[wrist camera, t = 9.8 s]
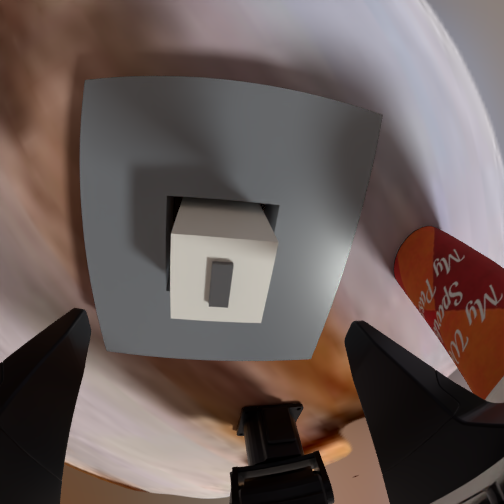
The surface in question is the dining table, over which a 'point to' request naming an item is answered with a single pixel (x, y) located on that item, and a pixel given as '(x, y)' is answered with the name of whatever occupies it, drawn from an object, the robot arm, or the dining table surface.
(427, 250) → the paper cup
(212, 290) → the block
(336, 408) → the dining table surface
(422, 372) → the robot arm
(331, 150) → the socket plate
